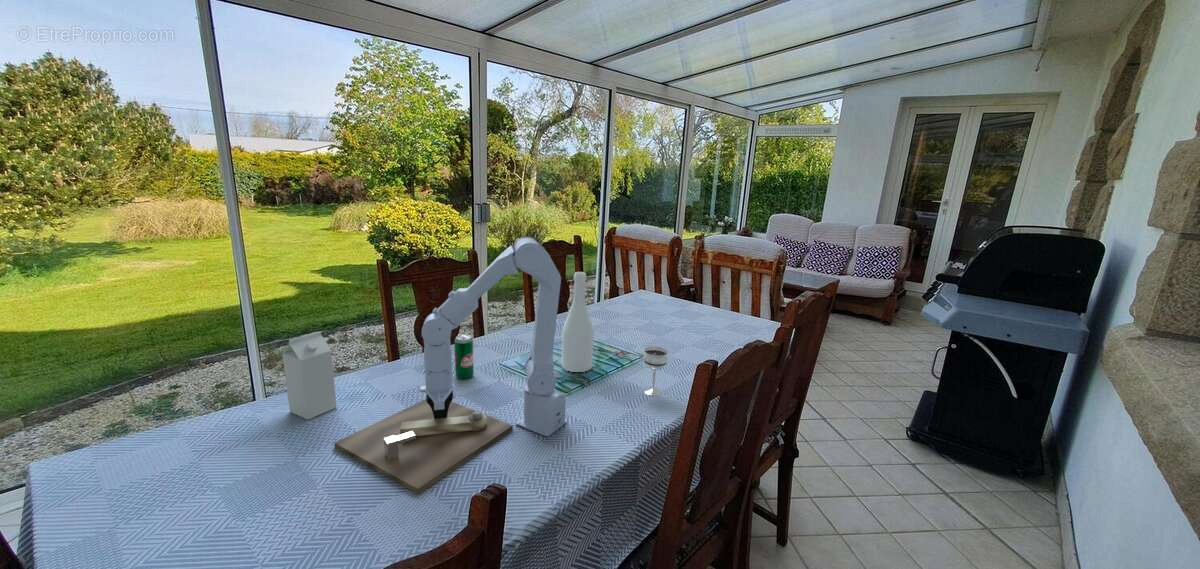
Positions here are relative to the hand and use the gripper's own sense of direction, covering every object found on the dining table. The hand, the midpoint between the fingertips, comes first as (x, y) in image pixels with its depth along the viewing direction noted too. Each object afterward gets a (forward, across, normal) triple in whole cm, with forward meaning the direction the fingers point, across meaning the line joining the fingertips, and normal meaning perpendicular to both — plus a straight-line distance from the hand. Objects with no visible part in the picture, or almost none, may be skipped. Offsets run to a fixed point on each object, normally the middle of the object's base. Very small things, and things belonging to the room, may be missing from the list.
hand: (441, 423), depth 103 cm
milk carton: (+2, -17, -29) cm, 34 cm away
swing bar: (0, +2, +1) cm, 2 cm away
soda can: (+2, -28, +6) cm, 29 cm away
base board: (+2, +2, -3) cm, 4 cm away
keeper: (+1, +8, -8) cm, 11 cm away
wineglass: (+2, -7, +56) cm, 56 cm away
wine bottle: (+2, -27, +39) cm, 48 cm away
